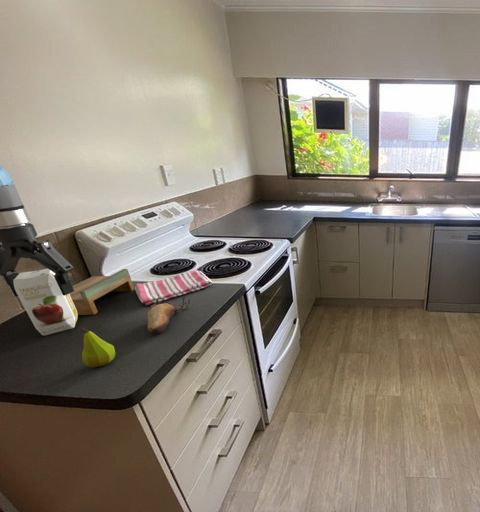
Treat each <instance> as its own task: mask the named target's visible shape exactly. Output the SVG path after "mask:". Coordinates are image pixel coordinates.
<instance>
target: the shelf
mask: <svg viewBox="0 0 480 512" xmlns="http://www.w3.org/2000/svg"><path fill="white" fill-rule="evenodd" d="M134 286H135V285H134V284H133V280H132V278H131V276H130V272H129V269H128V268H123V269H122V268H121V270H119V271H116V272H115V273H113V274H111V275H104V276H103V275H100V276H99V275H95V276H90V277H89V278H86V279H84V280H82V281H80V282H78V283H76V284H74V285H72V287H73V289H74V291H73V292H71V293H69V295H70V297H71V299H72V301H73V304H74V306H75V308H76V310H77V313H78V316H94V315H96V314H98V313H99V310H98V309H97V307H96V305H95V300H97V299H99V298H101V297H103V296H105V295H106V294H108V293H110V292H133V291H135V288H134Z"/></svg>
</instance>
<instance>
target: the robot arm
mask: <svg viewBox="0 0 480 512" xmlns="http://www.w3.org/2000/svg"><path fill="white" fill-rule="evenodd" d="M30 222H32V221H31V218H30V216H29V214H28V212H27V210H26V208H25V205H24V203H23V200H22V199H21V196H20V194H19V192H18V190H17V187H16V184H15V182H14V180H13V179H12V178H11V176H10V175H9V172H8V170H7V169H6V168H4V167H3V166H0V276H1V277H3V279H4V281H5V283H6V285H7V286H9V288H10V290H11V292H12V294H13V295H14V297H19V296H18V294H17V293H16V291H15V288H14V282H13V280H14V279H15V278H16V277H17V276H18V275H19V274H20V273H19V272H17V270H16V268H17V266H18V264H19V261H20V259H22V258H23V259H30V260H32V261H36V262H37V263H39V264H41V265H42V266H43V267H45V269H47V268H48V269H49V270H51V271H52V272H54V273H55V275H54V278H55V280H56V282H57V284H58V286H59V288H60V290H61V292H62V294H63V295H67V294H69V293H71V292H73V291H74V289H73V287H72V286H73V285H72V279H71V277H70V275H69V272H70V271H73V270H75V268H74V266H73V265H72V264H71V263H70V262H69V261H68V260H67V259H66V258H65V257H64V256H63V255H62V254H61V253H60V252H59V251H58V250H57V249H56V248H55V247H54V246H53V243H52V242H51V241H50V240H48V239H47V240H46V239H45V240H44V241H39V242H38V241H37V239H36V237H37V236H38V233H37V231H36V228H35V226H34V224H33V223H30Z"/></svg>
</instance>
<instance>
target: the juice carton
mask: <svg viewBox="0 0 480 512" xmlns="http://www.w3.org/2000/svg"><path fill="white" fill-rule="evenodd" d="M18 274H19V275H18V276H17V277H16V278H15V279H14V280H13V282H14V288H15V291H16V293H17V294H18V296H17V297H18V298H19V300H20V303H21V304H22V305H23V308H24V309H25V311H26V313H27V315H28V317H29V319H30V321H31V323H32V324H33V326H34V328H35V330H36V331H38V333H40V335H41V336H44V337H45V336H48V335H53V334H56V333H60V332H63V331H68V330H72V329H74V328H75V327H76V324H77V321H78V318H79V315H78V313H77V310H76V308H75V306H74V304H73V301H72V299H71V297H70V295H69V294H67V295H63V294H62V292H61V290H60V288H59V286H58V284H57V282H56V280H55V278H54V275H55V273H54V272H52V271H51V270H49V269H48V268H43V269H41V270H33V271H23V272H19V273H18Z"/></svg>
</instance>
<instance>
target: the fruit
mask: <svg viewBox="0 0 480 512" xmlns="http://www.w3.org/2000/svg"><path fill="white" fill-rule="evenodd" d="M80 330H83V331H85V332H84V334H83V350H82V352H81V360H82V363H83V364H84V365H85V366H87V367H90V368H98V367H103V366H106V365H109V363H110V362H112V361H113V360H114V359H115V357H116V352H115V351H116V350H115V346H114V345H113V344H112V343H108V342H107V341H105V340H103V339H102V338H100V337H99V336H98V335H96V334H95V333H94V332H93V331H91V330H88V329H86V328H84V327H81V328H80Z"/></svg>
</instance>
